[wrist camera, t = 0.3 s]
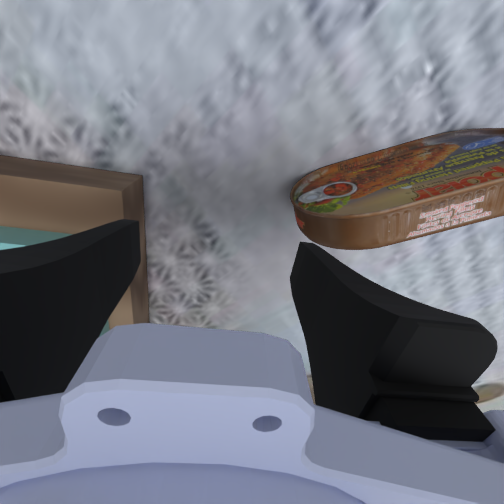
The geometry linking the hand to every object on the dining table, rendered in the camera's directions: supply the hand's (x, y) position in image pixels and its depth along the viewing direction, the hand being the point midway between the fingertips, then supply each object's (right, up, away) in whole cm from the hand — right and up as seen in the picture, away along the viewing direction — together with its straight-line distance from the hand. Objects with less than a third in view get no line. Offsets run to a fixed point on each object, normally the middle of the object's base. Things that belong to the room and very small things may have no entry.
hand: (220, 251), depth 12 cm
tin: (+11, +6, +9) cm, 16 cm away
